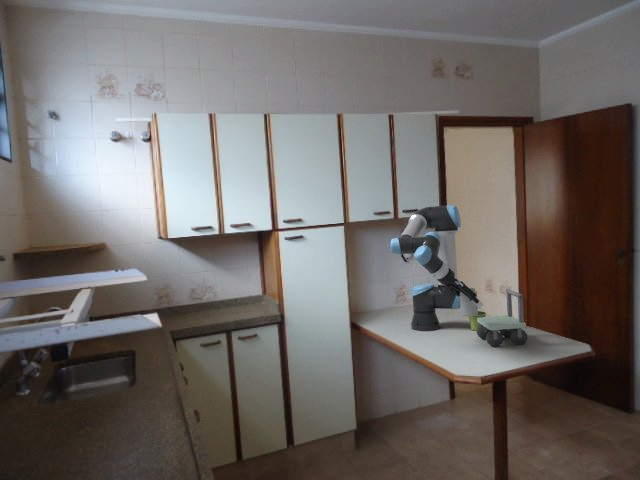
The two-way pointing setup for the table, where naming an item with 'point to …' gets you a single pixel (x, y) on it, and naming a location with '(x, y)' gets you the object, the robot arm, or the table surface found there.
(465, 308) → the can
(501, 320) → the trolley
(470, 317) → the plant pot
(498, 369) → the table surface
